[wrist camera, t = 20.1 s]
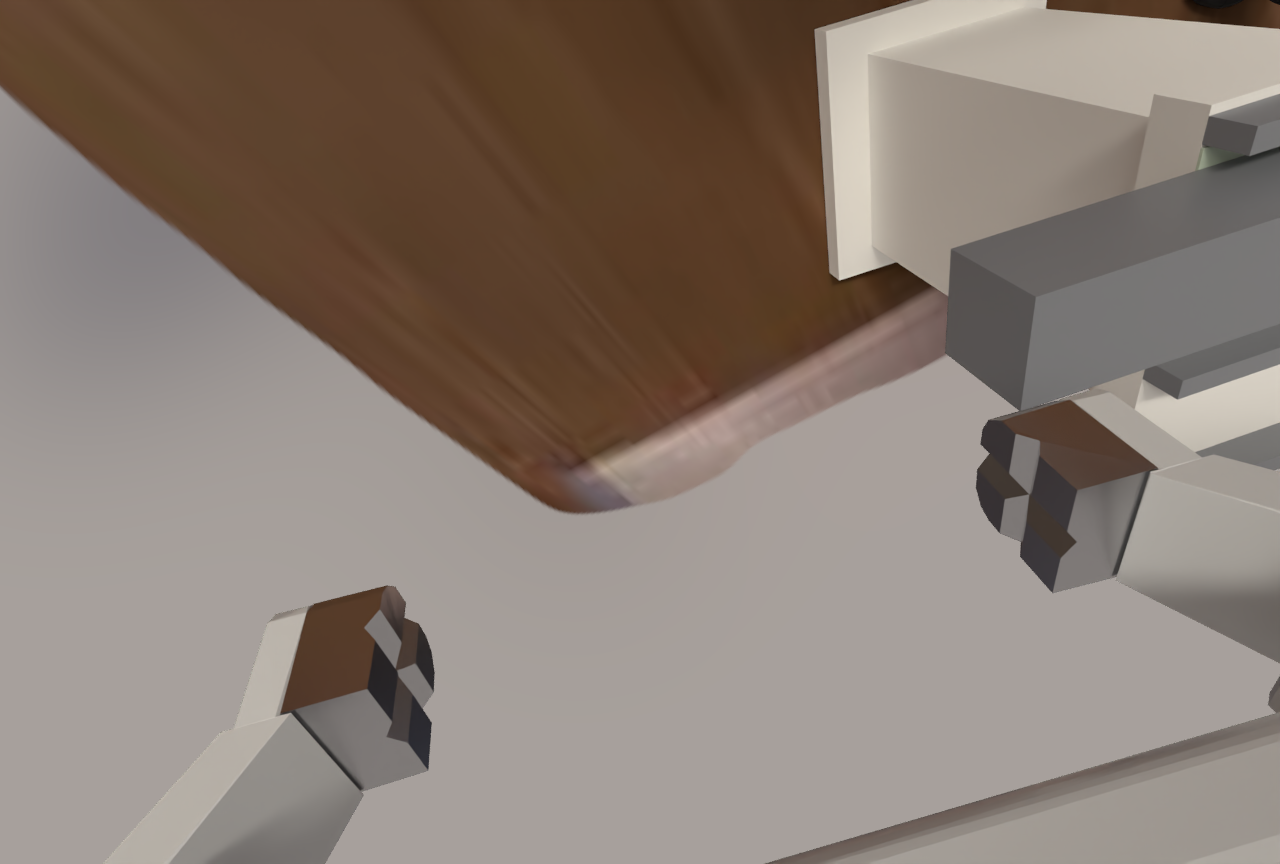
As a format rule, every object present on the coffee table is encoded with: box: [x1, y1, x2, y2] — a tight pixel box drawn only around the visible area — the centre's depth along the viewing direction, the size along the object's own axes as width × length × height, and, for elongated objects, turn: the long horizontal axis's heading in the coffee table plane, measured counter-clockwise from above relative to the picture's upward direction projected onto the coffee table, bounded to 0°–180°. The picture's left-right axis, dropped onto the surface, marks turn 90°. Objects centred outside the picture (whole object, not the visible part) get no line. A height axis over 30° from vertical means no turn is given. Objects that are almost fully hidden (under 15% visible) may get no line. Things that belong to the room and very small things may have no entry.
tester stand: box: [814, 0, 1280, 470], centre depth 34 cm, size 16×14×29 cm
